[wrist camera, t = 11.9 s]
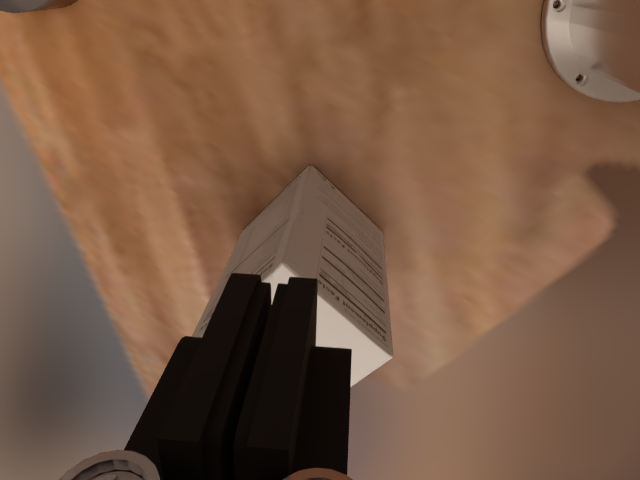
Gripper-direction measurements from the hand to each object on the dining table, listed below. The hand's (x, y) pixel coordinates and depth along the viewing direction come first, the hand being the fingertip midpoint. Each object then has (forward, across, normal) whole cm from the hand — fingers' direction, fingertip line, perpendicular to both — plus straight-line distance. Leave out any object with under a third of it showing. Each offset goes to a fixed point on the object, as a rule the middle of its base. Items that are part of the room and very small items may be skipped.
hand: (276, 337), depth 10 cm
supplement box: (+32, +2, +14) cm, 35 cm away
